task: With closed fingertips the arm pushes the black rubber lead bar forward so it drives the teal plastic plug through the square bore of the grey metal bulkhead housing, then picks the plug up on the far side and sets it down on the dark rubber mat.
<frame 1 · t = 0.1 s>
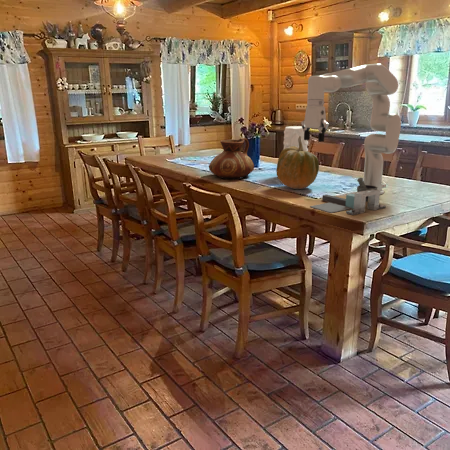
hand: (313, 140, 211), 31 cm above the table, fingers open, 9 cm apart
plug: (352, 207, 213), on the table
pumpkin: (296, 188, 257), on the table
lead: (335, 203, 222), on the table
housing: (365, 210, 206), on the table
jug: (230, 176, 295), on the table
vase: (294, 176, 294), on the table
mat: (330, 207, 212), on the table
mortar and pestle: (365, 200, 226), on the table
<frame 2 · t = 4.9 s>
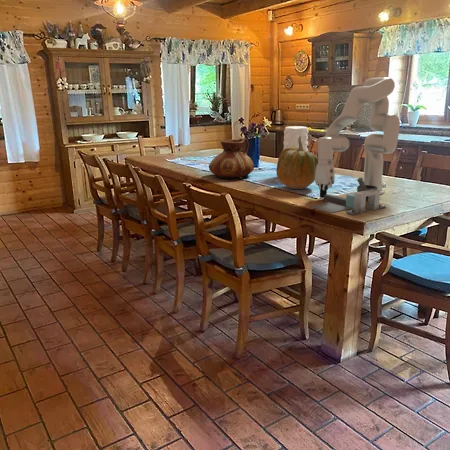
hand: (323, 197, 228), 1 cm above the table, fingers closed
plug: (352, 207, 213), on the table, touching lead
lead: (336, 203, 221), on the table, touching gripper, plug
everything else where it was.
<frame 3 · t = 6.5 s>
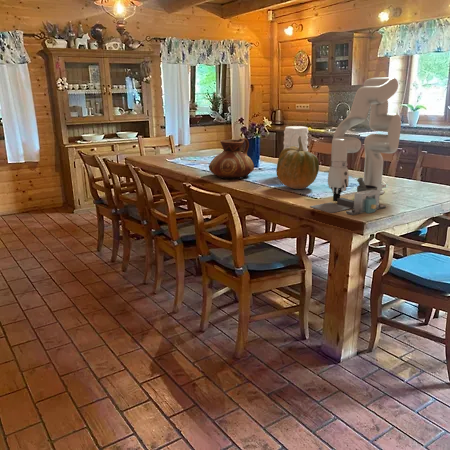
hand: (336, 200, 221), 1 cm above the table, fingers closed
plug: (367, 211, 205), on the table
lead: (350, 207, 213), on the table, touching gripper
everything else where it was.
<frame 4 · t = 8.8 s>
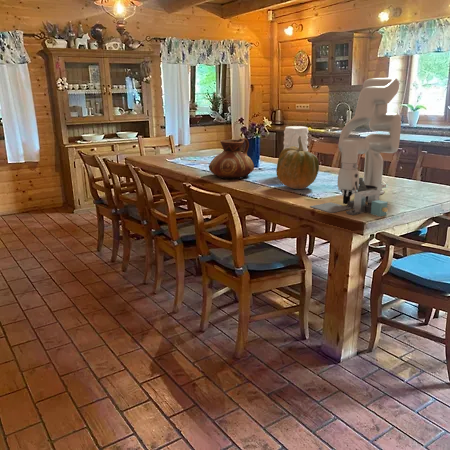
hand: (346, 203, 216), 1 cm above the table, fingers closed
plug: (378, 214, 200), on the table
lead: (361, 210, 208), on the table, touching gripper
everything else where it was.
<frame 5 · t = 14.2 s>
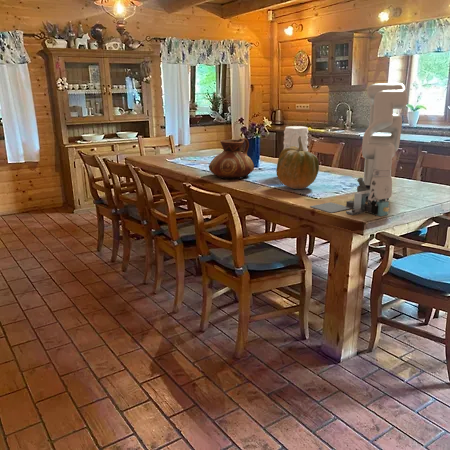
hand: (378, 212, 200), 1 cm above the table, fingers closed on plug, 4 cm apart
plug: (379, 214, 200), on the table, touching gripper
lead: (361, 210, 208), on the table
everything else where it was.
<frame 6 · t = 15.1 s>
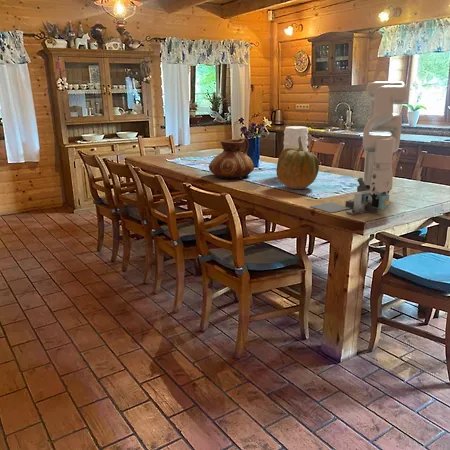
hand: (378, 205, 200), 4 cm above the table, fingers closed on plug, 4 cm apart
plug: (380, 207, 200), point 3 cm above the table, touching gripper
everything else where it was.
when the fingers open (2 cm above the table, at t = 19.9 s): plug drops 1 cm, resting on mat.
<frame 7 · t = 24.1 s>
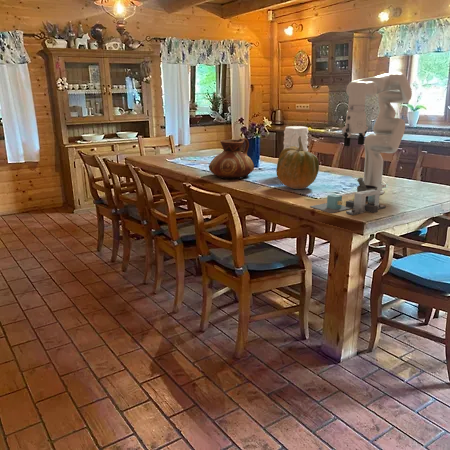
hand: (353, 145, 215), 28 cm above the table, fingers open, 9 cm apart
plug: (334, 207, 210), resting on mat
everything else where it was.
at the end: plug inside the target area on the mat (1.8 cm from its centre), point 0.4 cm above the mat's base; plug tilted 0°; the gripper is holding nothing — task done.
